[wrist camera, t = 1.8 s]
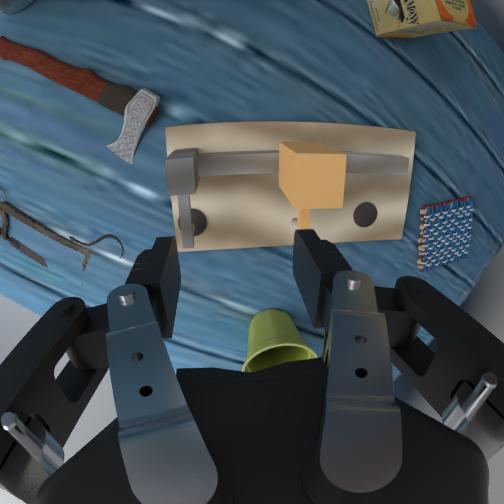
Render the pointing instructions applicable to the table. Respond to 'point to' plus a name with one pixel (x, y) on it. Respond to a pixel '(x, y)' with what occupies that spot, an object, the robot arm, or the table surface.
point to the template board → (267, 183)
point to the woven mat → (445, 232)
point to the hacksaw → (7, 208)
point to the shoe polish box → (420, 17)
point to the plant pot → (274, 341)
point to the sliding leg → (311, 178)
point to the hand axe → (93, 93)
